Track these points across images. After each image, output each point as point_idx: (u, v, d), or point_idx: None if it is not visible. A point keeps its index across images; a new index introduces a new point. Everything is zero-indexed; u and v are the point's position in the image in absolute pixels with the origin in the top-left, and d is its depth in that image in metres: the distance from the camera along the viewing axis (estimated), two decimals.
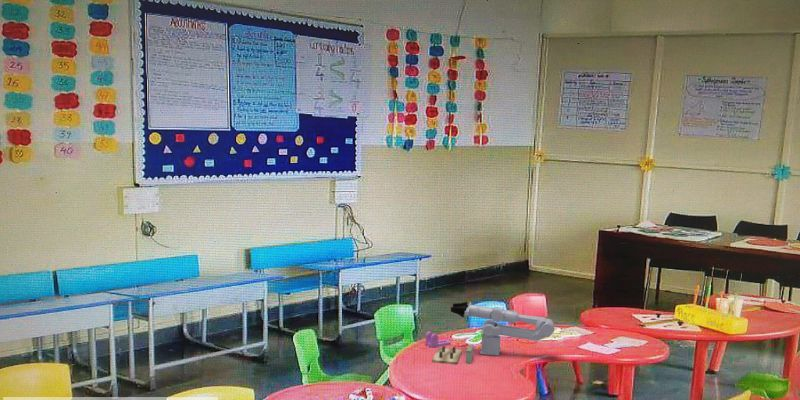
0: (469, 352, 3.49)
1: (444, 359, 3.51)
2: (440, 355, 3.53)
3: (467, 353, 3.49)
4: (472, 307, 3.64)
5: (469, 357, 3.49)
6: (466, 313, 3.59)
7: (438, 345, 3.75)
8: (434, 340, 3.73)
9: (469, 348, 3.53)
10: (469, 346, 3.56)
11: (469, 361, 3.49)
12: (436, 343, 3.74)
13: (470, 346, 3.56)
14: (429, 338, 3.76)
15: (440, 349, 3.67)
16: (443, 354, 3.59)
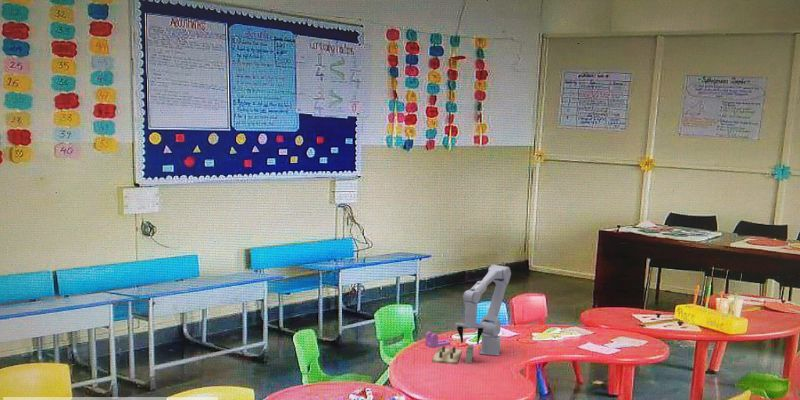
0: (469, 352, 3.49)
1: (444, 359, 3.51)
2: (440, 355, 3.53)
3: (467, 353, 3.49)
4: (473, 323, 3.50)
5: (469, 357, 3.49)
6: (485, 327, 3.51)
7: (438, 345, 3.75)
8: (434, 340, 3.73)
9: (469, 348, 3.53)
10: (469, 346, 3.56)
11: (469, 361, 3.49)
12: (436, 343, 3.74)
13: (470, 346, 3.56)
14: (429, 338, 3.76)
15: (440, 349, 3.67)
16: (443, 354, 3.59)
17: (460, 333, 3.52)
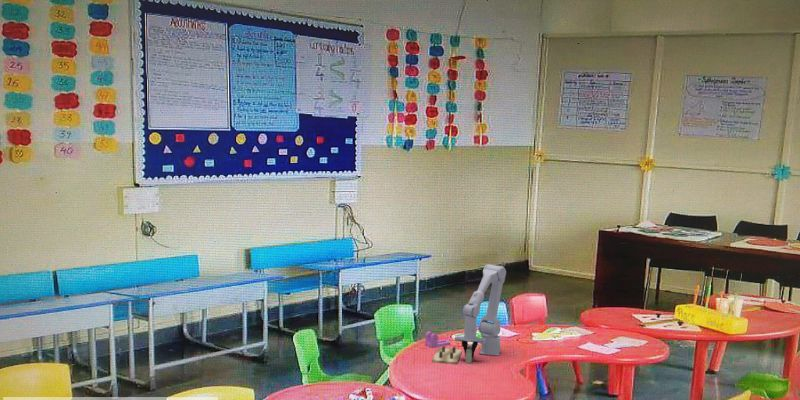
0: (469, 352, 3.49)
1: (444, 359, 3.51)
2: (440, 355, 3.53)
3: (467, 353, 3.49)
4: (473, 337, 3.50)
5: (469, 357, 3.49)
6: (485, 341, 3.52)
7: (438, 345, 3.74)
8: (434, 340, 3.73)
9: (469, 347, 3.53)
10: (469, 346, 3.56)
11: (469, 361, 3.49)
12: (436, 343, 3.74)
13: (470, 346, 3.56)
14: (429, 338, 3.76)
15: (440, 349, 3.67)
16: (443, 354, 3.59)
17: (464, 347, 3.52)
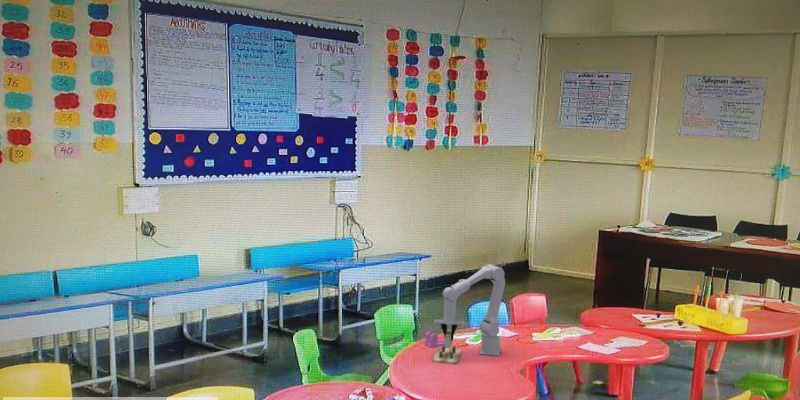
0: (448, 337, 3.52)
1: (444, 359, 3.51)
2: (440, 355, 3.53)
3: (446, 338, 3.52)
4: (452, 320, 3.54)
5: (448, 342, 3.52)
6: None
7: (438, 345, 3.74)
8: (434, 340, 3.73)
9: (448, 333, 3.56)
10: (448, 331, 3.59)
11: (448, 346, 3.52)
12: (436, 343, 3.74)
13: (449, 331, 3.59)
14: (429, 338, 3.76)
15: (440, 349, 3.67)
16: (443, 354, 3.59)
17: (444, 330, 3.55)
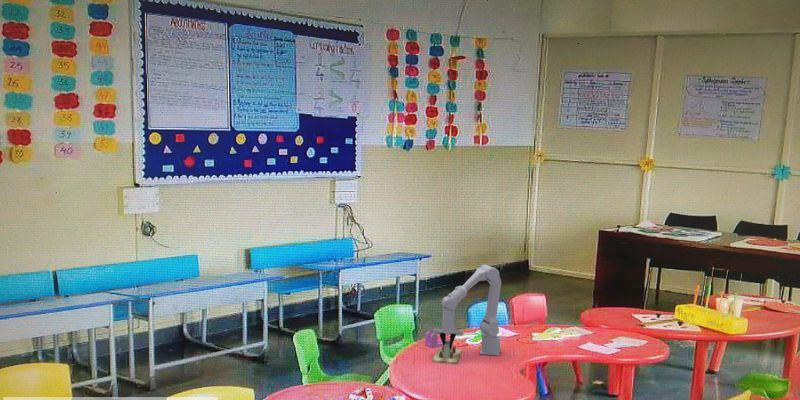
0: (447, 347, 3.52)
1: (444, 359, 3.51)
2: (440, 355, 3.53)
3: (445, 348, 3.53)
4: (451, 329, 3.54)
5: (447, 352, 3.53)
6: (462, 333, 3.56)
7: (437, 345, 3.74)
8: (433, 340, 3.73)
9: (447, 342, 3.57)
10: (447, 341, 3.60)
11: (447, 356, 3.53)
12: (435, 343, 3.74)
13: (448, 341, 3.60)
14: (428, 338, 3.76)
15: (440, 349, 3.67)
16: (443, 354, 3.59)
17: (443, 339, 3.56)
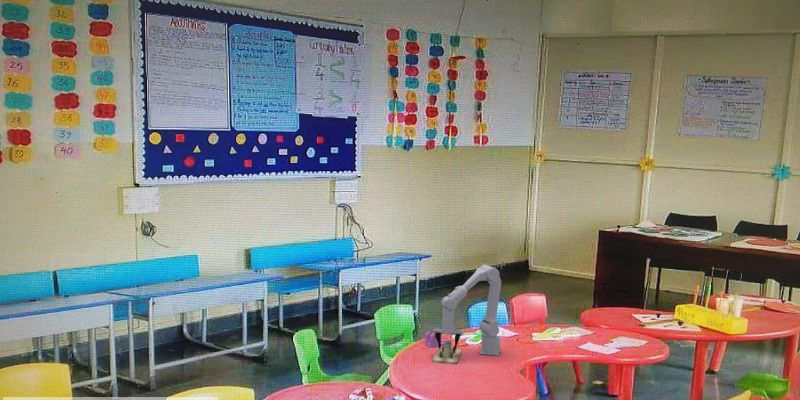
0: (447, 347, 3.53)
1: (444, 359, 3.51)
2: (440, 355, 3.53)
3: (445, 348, 3.53)
4: (451, 329, 3.54)
5: (447, 352, 3.53)
6: (462, 333, 3.56)
7: (437, 345, 3.74)
8: (433, 340, 3.73)
9: (447, 343, 3.57)
10: (447, 341, 3.60)
11: (447, 356, 3.53)
12: (435, 343, 3.74)
13: (448, 341, 3.60)
14: (428, 338, 3.76)
15: (440, 349, 3.67)
16: (443, 354, 3.59)
17: (438, 339, 3.56)
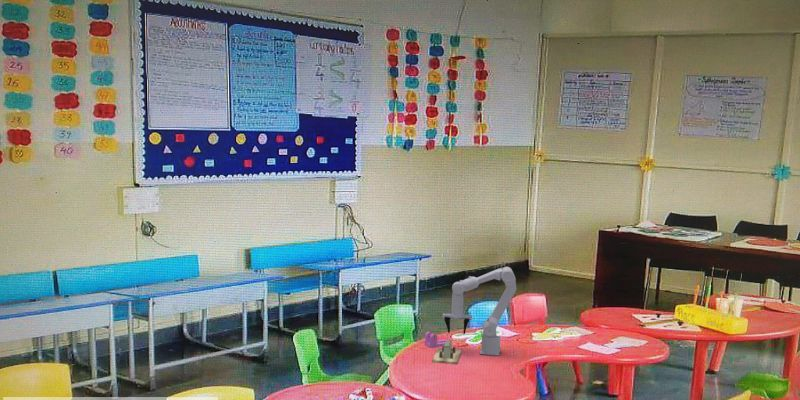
0: (447, 347, 3.53)
1: (444, 359, 3.51)
2: (440, 355, 3.53)
3: (445, 348, 3.53)
4: (460, 313, 3.63)
5: (447, 352, 3.53)
6: (471, 317, 3.64)
7: (437, 345, 3.74)
8: (433, 340, 3.73)
9: (447, 343, 3.57)
10: (447, 341, 3.60)
11: (447, 356, 3.53)
12: (435, 343, 3.74)
13: (448, 341, 3.60)
14: (428, 338, 3.76)
15: (440, 349, 3.67)
16: (443, 354, 3.59)
17: (447, 323, 3.65)
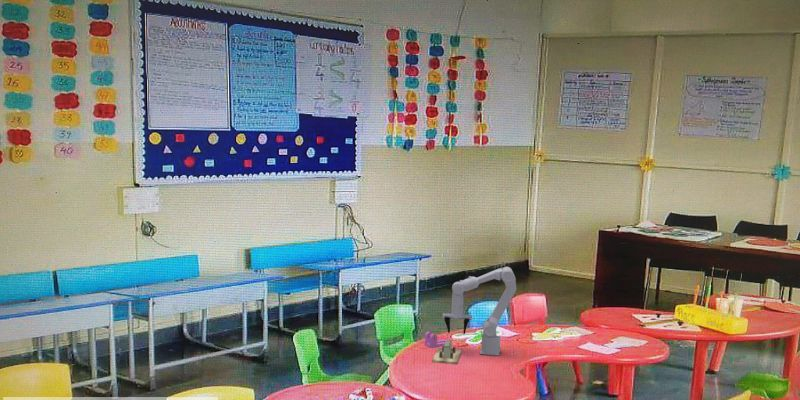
0: (447, 347, 3.53)
1: (444, 359, 3.51)
2: (440, 355, 3.53)
3: (445, 348, 3.53)
4: (460, 313, 3.63)
5: (447, 352, 3.53)
6: (471, 317, 3.64)
7: (437, 345, 3.74)
8: (433, 340, 3.73)
9: (447, 343, 3.57)
10: (447, 341, 3.60)
11: (447, 356, 3.53)
12: (435, 343, 3.74)
13: (448, 341, 3.60)
14: (428, 338, 3.76)
15: (440, 349, 3.67)
16: (443, 354, 3.59)
17: (447, 323, 3.65)
